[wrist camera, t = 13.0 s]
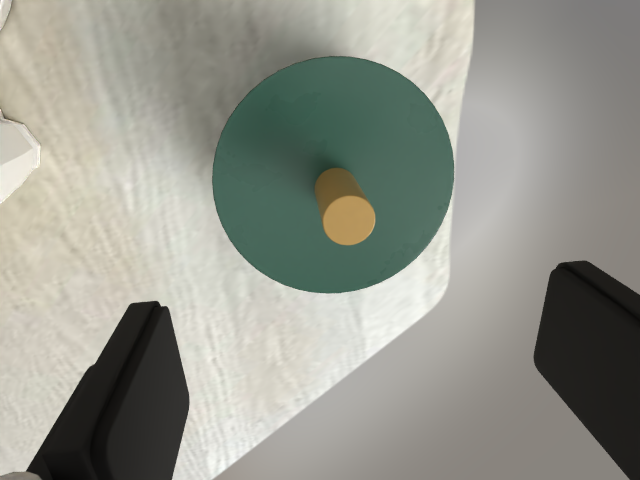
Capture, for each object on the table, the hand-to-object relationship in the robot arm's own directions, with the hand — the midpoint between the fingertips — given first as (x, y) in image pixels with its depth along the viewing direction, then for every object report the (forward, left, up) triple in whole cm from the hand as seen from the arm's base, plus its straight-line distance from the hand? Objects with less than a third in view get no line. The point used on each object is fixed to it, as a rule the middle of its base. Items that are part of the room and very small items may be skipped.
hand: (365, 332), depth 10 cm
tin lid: (+1, +1, -15) cm, 15 cm away
